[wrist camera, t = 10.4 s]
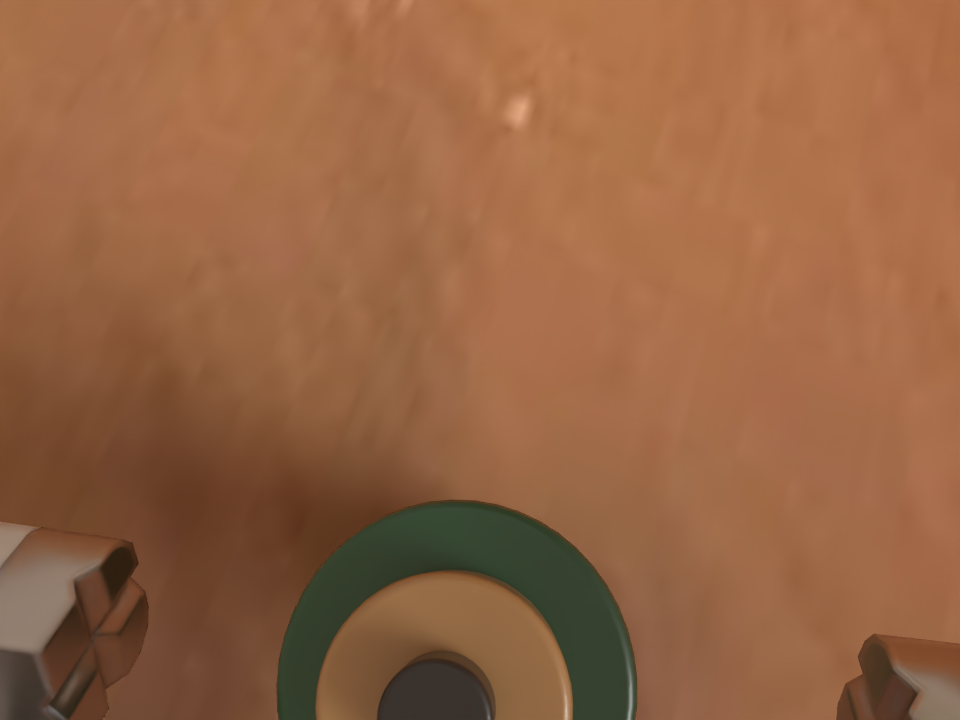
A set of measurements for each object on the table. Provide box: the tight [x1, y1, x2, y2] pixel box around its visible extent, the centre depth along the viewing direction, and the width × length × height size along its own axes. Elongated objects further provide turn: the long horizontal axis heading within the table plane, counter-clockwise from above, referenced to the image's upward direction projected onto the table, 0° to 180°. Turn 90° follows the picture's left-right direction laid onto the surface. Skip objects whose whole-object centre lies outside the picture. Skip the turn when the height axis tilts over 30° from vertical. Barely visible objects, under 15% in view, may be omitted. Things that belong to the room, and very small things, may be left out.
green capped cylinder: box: [277, 500, 637, 720], centre depth 10 cm, size 3×3×11 cm
